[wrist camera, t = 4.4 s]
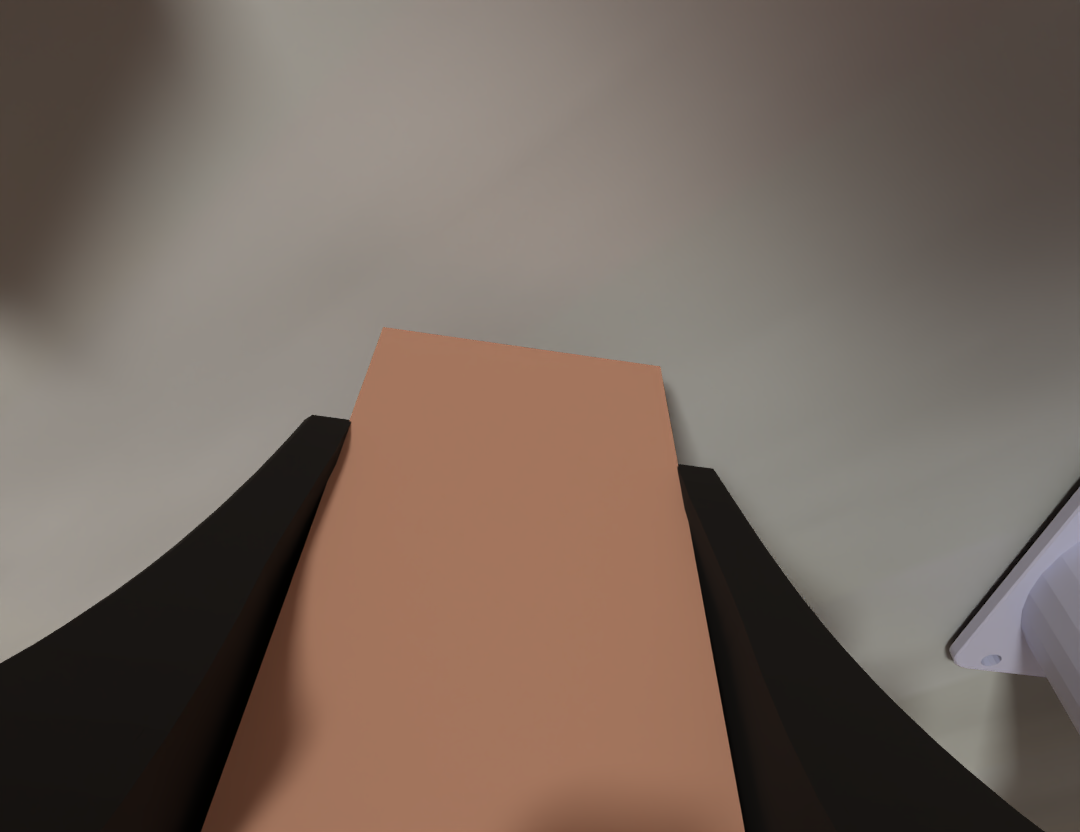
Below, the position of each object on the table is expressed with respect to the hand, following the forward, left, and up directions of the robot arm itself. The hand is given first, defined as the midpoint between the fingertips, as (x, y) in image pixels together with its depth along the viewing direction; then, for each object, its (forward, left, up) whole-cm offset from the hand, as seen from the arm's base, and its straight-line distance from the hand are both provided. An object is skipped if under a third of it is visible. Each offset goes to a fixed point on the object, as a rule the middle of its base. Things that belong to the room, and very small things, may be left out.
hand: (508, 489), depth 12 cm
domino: (0, 0, -3) cm, 3 cm away
